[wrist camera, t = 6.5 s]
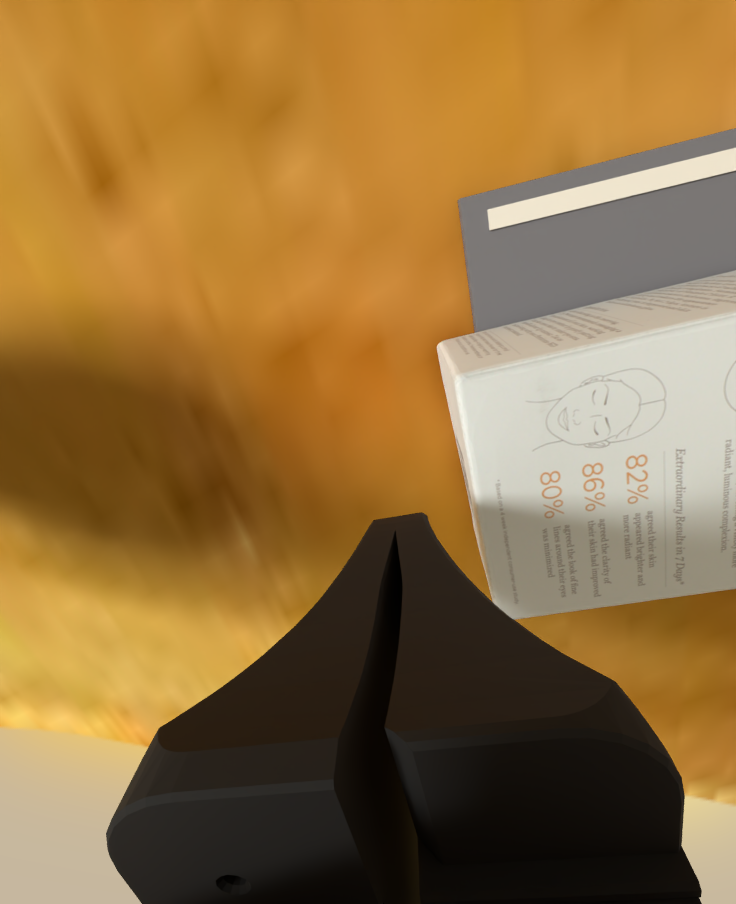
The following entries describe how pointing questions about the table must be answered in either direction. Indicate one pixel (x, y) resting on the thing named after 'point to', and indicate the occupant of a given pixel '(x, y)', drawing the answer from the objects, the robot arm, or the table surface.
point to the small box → (602, 449)
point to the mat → (601, 231)
